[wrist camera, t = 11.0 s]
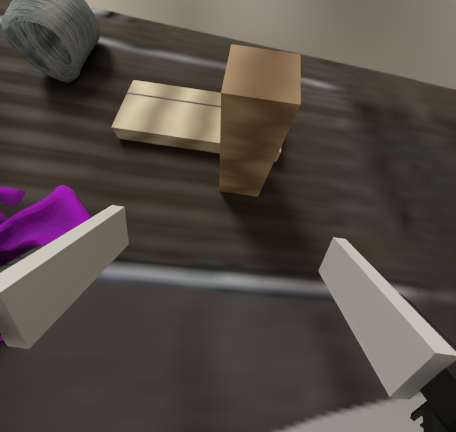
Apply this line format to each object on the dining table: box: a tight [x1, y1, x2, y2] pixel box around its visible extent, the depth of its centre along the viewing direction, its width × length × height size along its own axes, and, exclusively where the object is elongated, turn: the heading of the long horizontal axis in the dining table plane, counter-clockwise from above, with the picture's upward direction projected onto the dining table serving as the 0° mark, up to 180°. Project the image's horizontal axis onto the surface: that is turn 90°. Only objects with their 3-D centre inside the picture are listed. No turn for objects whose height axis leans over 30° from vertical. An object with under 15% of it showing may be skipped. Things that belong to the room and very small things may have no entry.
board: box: [112, 80, 281, 162], centre depth 26 cm, size 22×9×2 cm, turn 82°
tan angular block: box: [219, 44, 301, 197], centre depth 20 cm, size 5×13×13 cm, turn 172°
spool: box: [2, 0, 100, 82], centre depth 27 cm, size 14×10×10 cm
